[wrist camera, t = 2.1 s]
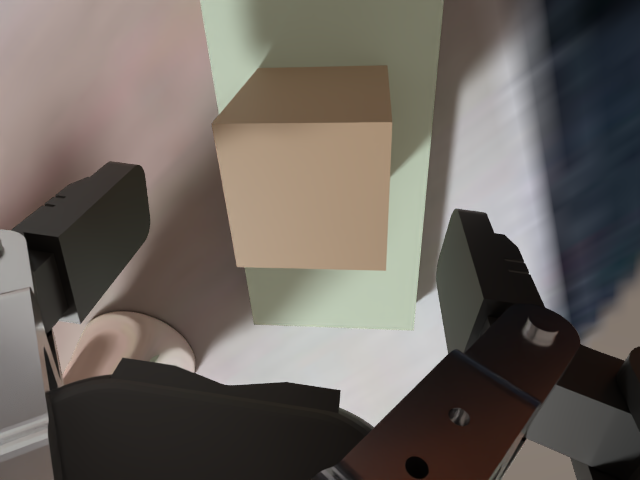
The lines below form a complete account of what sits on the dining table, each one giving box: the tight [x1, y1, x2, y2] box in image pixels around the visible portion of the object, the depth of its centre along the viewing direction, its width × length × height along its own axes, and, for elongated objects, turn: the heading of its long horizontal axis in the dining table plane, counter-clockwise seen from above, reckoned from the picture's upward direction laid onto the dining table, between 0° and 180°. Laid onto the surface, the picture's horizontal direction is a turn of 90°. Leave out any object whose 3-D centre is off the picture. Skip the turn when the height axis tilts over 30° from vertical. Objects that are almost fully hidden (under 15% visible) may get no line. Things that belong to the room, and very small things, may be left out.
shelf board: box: [200, 0, 444, 330], centre depth 14 cm, size 18×7×7 cm, turn 2°
